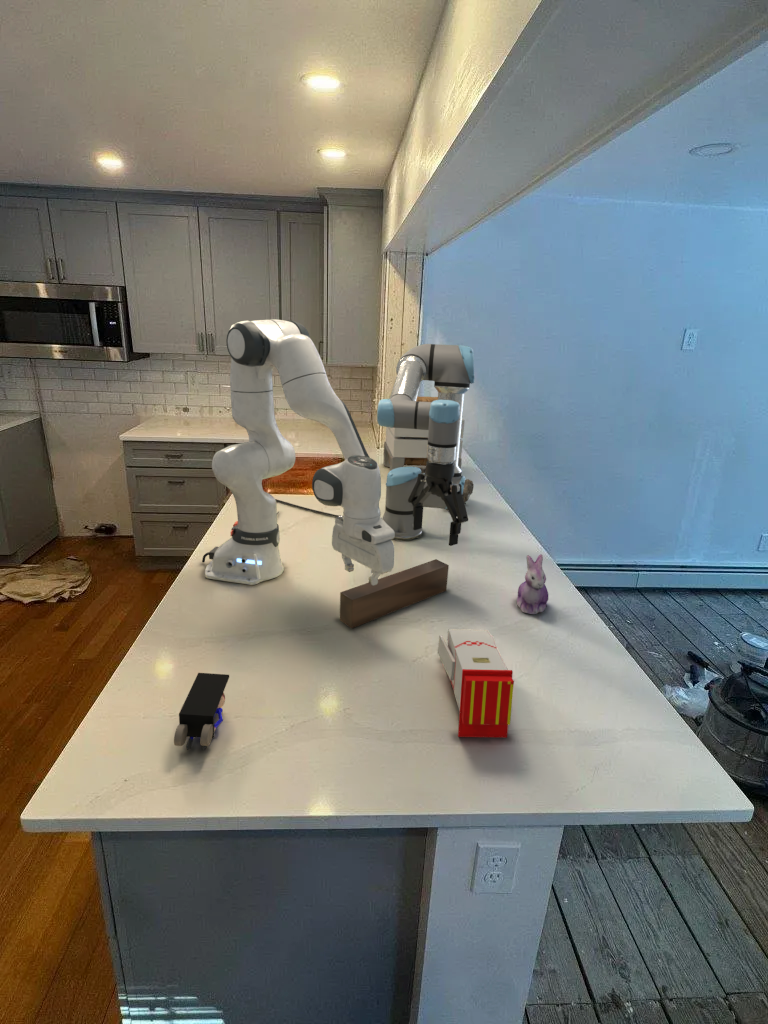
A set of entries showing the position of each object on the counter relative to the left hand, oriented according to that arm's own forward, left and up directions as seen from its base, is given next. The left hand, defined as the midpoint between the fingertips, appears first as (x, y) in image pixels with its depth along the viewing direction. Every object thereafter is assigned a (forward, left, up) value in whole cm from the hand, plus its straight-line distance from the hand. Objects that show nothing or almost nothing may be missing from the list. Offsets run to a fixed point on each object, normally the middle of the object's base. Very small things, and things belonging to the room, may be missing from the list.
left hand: (361, 577), depth 140 cm
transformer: (+20, +140, -12) cm, 142 cm away
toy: (+25, -27, -12) cm, 38 cm away
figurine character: (-26, -41, -12) cm, 50 cm away
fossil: (+34, +96, -12) cm, 102 cm away
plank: (+9, +9, -12) cm, 18 cm away
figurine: (+46, +11, -12) cm, 49 cm away
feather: (-36, +72, -12) cm, 81 cm away
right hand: (+19, +18, +5) cm, 26 cm away
